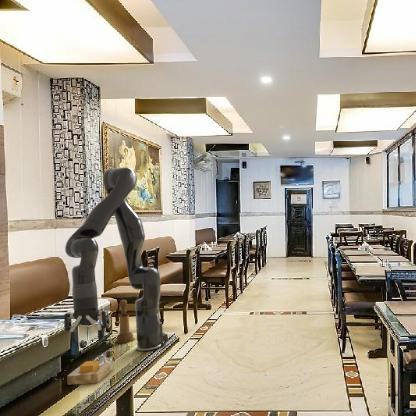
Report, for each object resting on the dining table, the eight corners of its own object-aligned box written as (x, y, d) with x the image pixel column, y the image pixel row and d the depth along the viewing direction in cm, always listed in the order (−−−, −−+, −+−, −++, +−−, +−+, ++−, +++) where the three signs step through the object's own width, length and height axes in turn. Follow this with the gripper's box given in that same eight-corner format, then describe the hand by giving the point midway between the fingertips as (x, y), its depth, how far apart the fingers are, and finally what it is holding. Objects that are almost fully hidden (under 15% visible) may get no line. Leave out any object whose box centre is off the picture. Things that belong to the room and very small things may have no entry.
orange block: (86, 375, 151) (85, 361, 151) (99, 374, 151) (98, 360, 151) (80, 380, 146) (79, 366, 146) (93, 379, 147) (93, 365, 146)
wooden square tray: (110, 370, 154) (110, 362, 154) (98, 382, 144) (97, 374, 144) (82, 372, 153) (81, 364, 153) (67, 384, 143) (67, 376, 143)
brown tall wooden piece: (122, 343, 184) (120, 302, 183) (113, 341, 187) (111, 300, 187) (136, 339, 189) (134, 298, 189) (127, 337, 193) (125, 297, 192)
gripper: (110, 291, 152) (113, 336, 153) (69, 293, 151) (72, 338, 152) (101, 296, 145) (104, 343, 145) (58, 298, 144) (61, 346, 144)
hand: (88, 341), depth 149 cm, fingers open, 8 cm apart
